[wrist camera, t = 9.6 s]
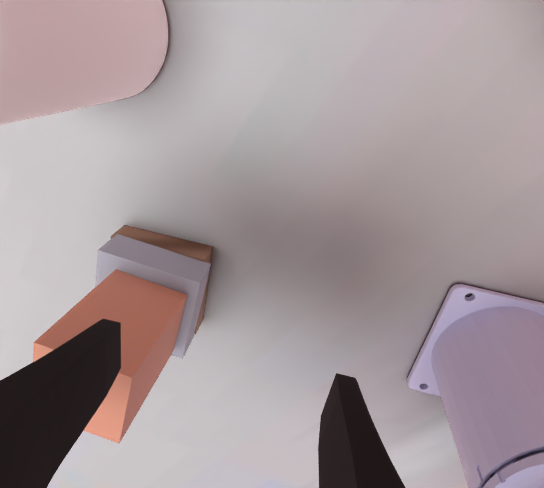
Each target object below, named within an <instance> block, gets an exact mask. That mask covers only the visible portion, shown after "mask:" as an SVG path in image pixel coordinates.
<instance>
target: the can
mask: <svg viewBox="0 0 544 488" xmlns="http://www.w3.org/2000/svg"><path fill="white" fill-rule="evenodd" d="M167 46H168V23H167V17H166V12H165V8H164V5H163V2H162V0H0V125H1V124H6V123H11V122H16V121H21V120H26V119H30V118H35V117H40V116H45V115H50V114H55V113H59V112H64V111H69V110H74V109H78V108H83V107H88V106H93V105H97V104H102V103H106V102H111V101H116V100H120V99H124V98H128V97H131V96H134V95H136V94H138V93H140V92H141V91H143V90H144V89H145V88H146V87H148V86H149V85H150V83H151V82H152V81H153V80H154V78H155V77H156V76H157V74H158V73H159V71H160V69H161V67H162V65H163V63H164V60H165V56H166V52H167Z"/></svg>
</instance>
